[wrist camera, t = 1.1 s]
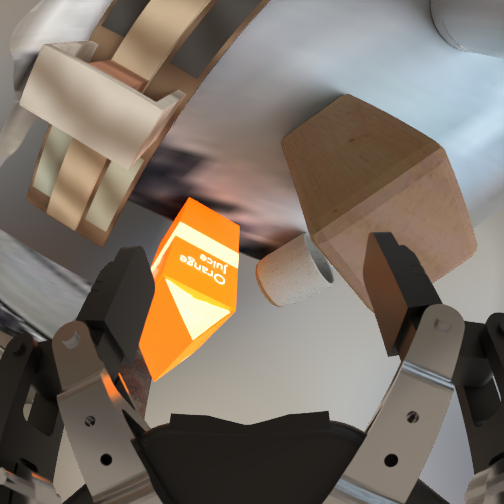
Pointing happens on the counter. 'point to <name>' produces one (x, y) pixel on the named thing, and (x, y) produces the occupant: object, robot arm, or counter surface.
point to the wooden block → (376, 190)
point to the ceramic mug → (294, 272)
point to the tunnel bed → (120, 102)
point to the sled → (134, 75)
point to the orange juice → (190, 286)
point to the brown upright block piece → (137, 381)
